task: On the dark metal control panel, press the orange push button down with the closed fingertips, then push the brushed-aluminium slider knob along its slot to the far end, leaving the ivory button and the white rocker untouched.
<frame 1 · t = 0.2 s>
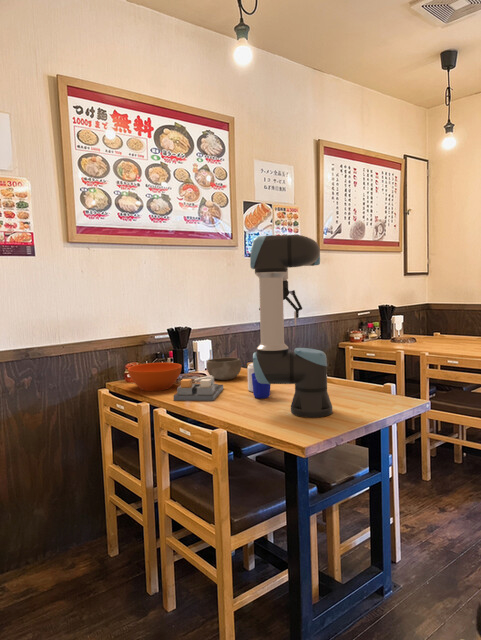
hand: (281, 325, 217), 28 cm above the table, fingers open, 13 cm apart
panel: (199, 394, 202), on the table
bowl: (224, 378, 235), on the table
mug: (260, 398, 192), on the table
rocker: (203, 378, 209), point 5 cm above the table, hinge at -12.0°
button ivory: (205, 384, 194), point 6 cm above the table, slide at 0.0 cm
button orange: (186, 383, 195), point 6 cm above the table, slide at 0.0 cm
slider knob: (210, 382, 202), point 5 cm above the table, slide at 0.0 cm
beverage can: (257, 391, 206), on the table
bowl 2: (155, 388, 218), on the table
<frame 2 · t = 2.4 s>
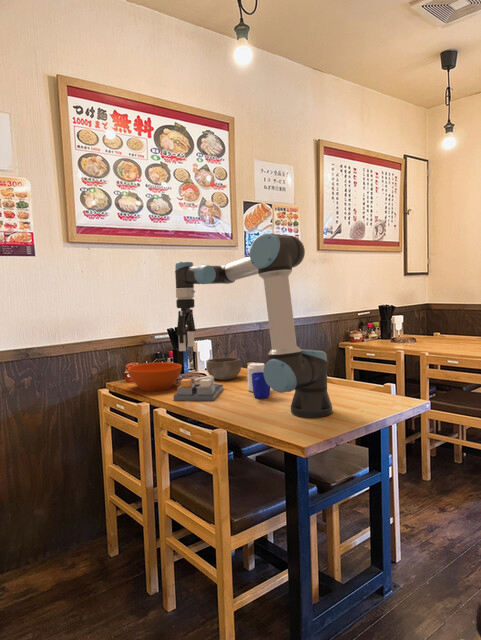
hand: (186, 348, 195), 21 cm above the table, fingers open, 13 cm apart
nothing on the table moved.
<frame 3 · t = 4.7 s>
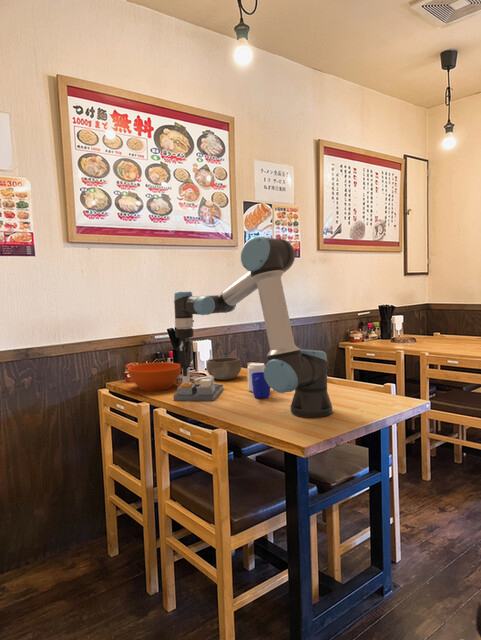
hand: (186, 383, 195), 6 cm above the table, fingers closed
button orange: (186, 387, 195), point 4 cm above the table, slide at 1.7 cm, touching gripper
everything else where it was.
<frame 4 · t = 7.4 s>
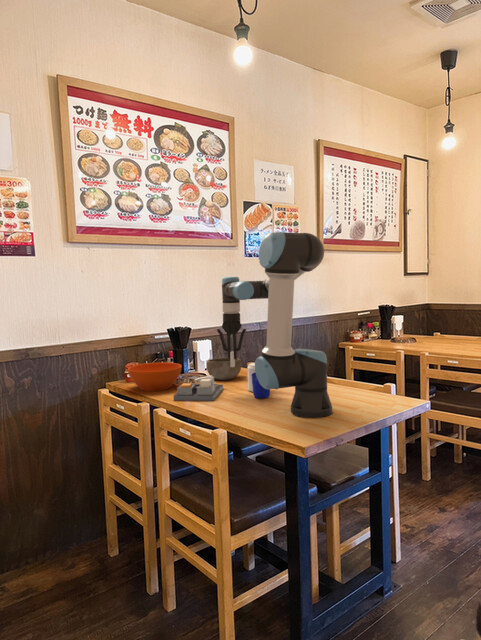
hand: (232, 366, 200), 12 cm above the table, fingers closed
button orange: (186, 388, 195), point 4 cm above the table, slide at 1.9 cm
everything else where it was.
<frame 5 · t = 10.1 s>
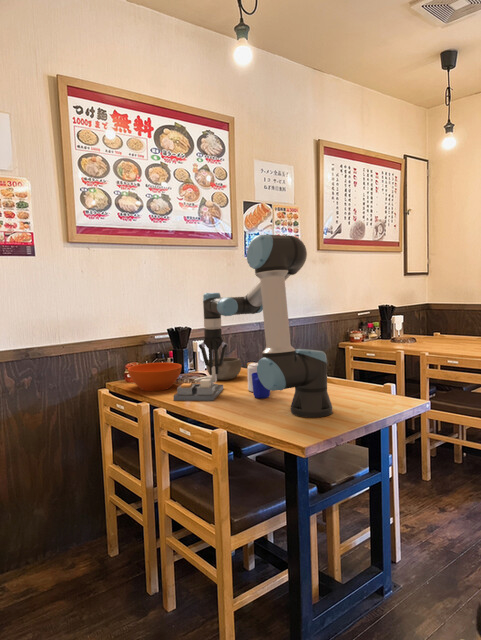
hand: (214, 381, 202), 5 cm above the table, fingers closed
slider knob: (209, 382, 202), point 5 cm above the table, slide at 0.3 cm, touching gripper
everything else where it was.
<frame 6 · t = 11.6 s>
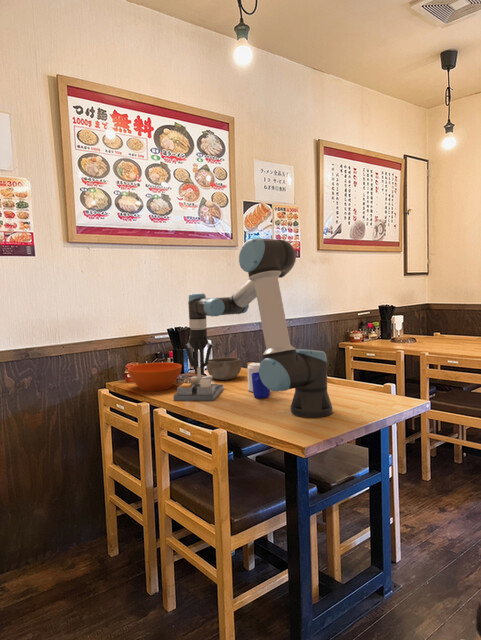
hand: (199, 381, 203), 5 cm above the table, fingers closed
slider knob: (195, 382, 203), point 5 cm above the table, slide at 6.8 cm, touching gripper
everything else where it was.
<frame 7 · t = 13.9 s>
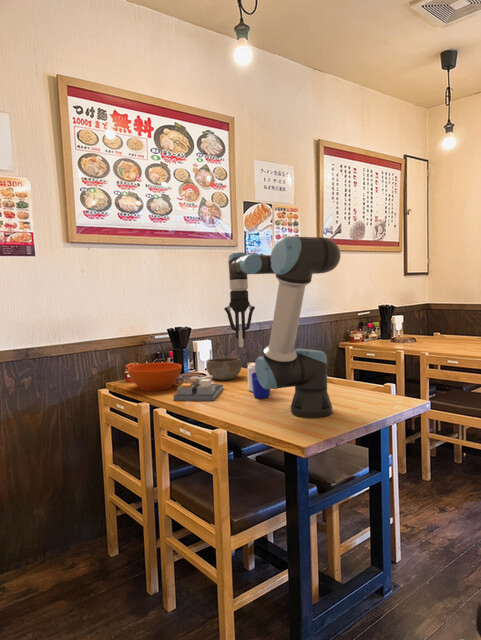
hand: (241, 346, 192), 22 cm above the table, fingers closed
slider knob: (194, 382, 203), point 5 cm above the table, slide at 7.0 cm
everything else where it was.
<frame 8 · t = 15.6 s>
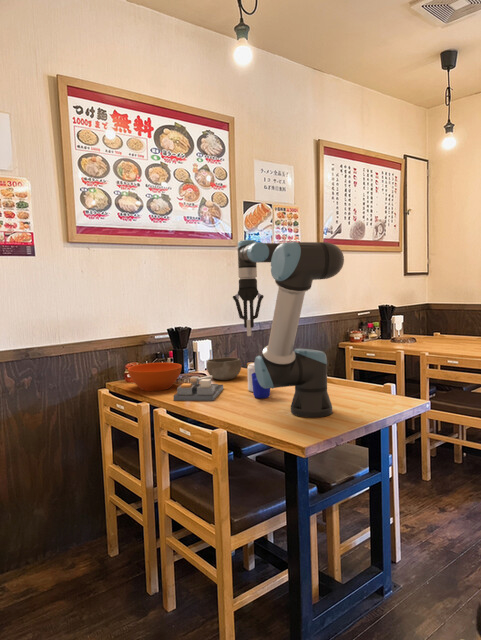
hand: (249, 335, 190), 26 cm above the table, fingers closed
nothing on the table moved.
at the end: slider knob slide at 7.0 cm; button orange slide at 1.9 cm; button ivory slide at 0.0 cm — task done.
